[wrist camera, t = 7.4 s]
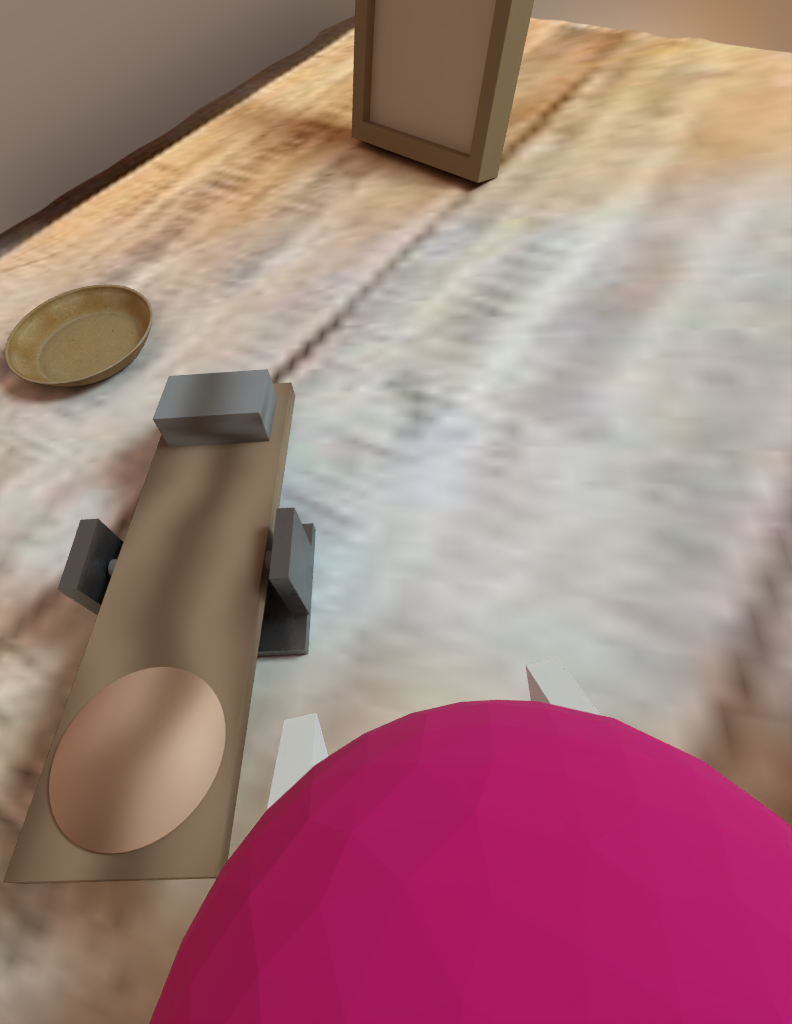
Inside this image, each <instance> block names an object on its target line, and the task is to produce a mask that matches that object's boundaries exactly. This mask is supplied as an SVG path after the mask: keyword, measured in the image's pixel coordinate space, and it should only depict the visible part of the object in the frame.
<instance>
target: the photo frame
mask: <svg viewBox="0 0 792 1024" xmlns="http://www.w3.org/2000/svg"><path fill="white" fill-rule="evenodd" d="M533 2H534V0H356V1H355V37H354V74H353V110H352V137H353V138H356V139H358V140H361V141H364V142H367V143H369V144H372V145H375V146H378V147H380V148H383V149H386V150H389V151H391V152H394V153H397V154H400V155H402V156H405V157H408V158H411V159H413V160H416V161H419V162H422V163H424V164H427V165H430V166H433V167H435V168H438V169H441V170H444V171H446V172H449V173H452V174H455V175H457V176H460V177H463V178H466V179H469V180H471V181H474V182H477V183H479V182H483V181H486V180H489V179H492V178H495V177H497V175H498V170H499V165H500V160H501V156H502V151H503V146H504V141H505V137H506V132H507V127H508V122H509V117H510V113H511V108H512V103H513V98H514V94H515V89H516V84H517V79H518V75H519V70H520V65H521V60H522V55H523V51H524V46H525V41H526V36H527V32H528V27H529V22H530V17H531V12H532V8H533Z"/></svg>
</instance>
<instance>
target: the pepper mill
mask: <svg viewBox="0 0 792 1024" xmlns="http://www.w3.org/2000/svg"><path fill="white" fill-rule="evenodd" d="M150 1024H792V828H791V827H790V826H789V825H788V824H787V823H786V822H785V821H784V820H783V819H781V818H780V817H779V816H777V815H776V814H775V813H773V812H772V811H771V810H769V809H768V808H766V807H765V806H764V805H762V804H761V803H760V802H758V801H757V800H755V799H754V798H753V797H751V796H750V795H749V794H747V793H746V792H745V791H743V790H742V789H740V788H739V787H738V786H736V785H735V784H734V783H732V782H731V781H729V780H728V779H727V778H725V777H724V776H723V775H721V774H720V773H719V772H717V771H716V770H714V769H713V768H712V767H710V766H709V765H708V764H706V763H705V762H703V761H702V760H700V759H698V758H696V757H694V756H692V755H690V754H688V753H685V752H683V751H681V750H679V749H677V748H675V747H673V746H671V745H669V744H667V743H664V742H662V741H660V740H658V739H656V738H654V737H652V736H650V735H648V734H646V733H643V732H641V731H639V730H637V729H635V728H633V727H631V726H629V725H627V724H625V723H622V722H620V721H618V720H616V719H614V718H610V717H606V716H601V715H597V714H593V713H588V712H584V711H579V710H575V709H570V708H566V707H562V706H557V705H553V704H548V703H544V702H539V701H514V700H487V701H471V702H459V703H454V704H450V705H446V706H441V707H437V708H432V709H428V710H424V711H419V712H415V713H411V714H409V715H406V716H404V717H402V718H399V719H397V720H395V721H392V722H390V723H388V724H385V725H383V726H381V727H378V728H376V729H374V730H372V731H369V732H367V733H365V734H363V735H361V736H360V737H358V738H356V739H355V740H353V741H352V742H350V743H349V744H347V745H346V746H344V747H342V748H341V749H339V750H338V751H336V752H335V753H333V754H331V755H330V756H328V757H327V758H325V759H324V760H322V761H321V762H319V763H317V764H316V765H315V766H314V767H312V768H311V769H310V770H309V771H308V772H307V773H306V774H305V775H304V776H303V777H302V778H301V779H300V780H299V781H297V782H296V783H295V784H294V785H293V786H292V787H291V788H290V789H289V790H288V791H287V792H286V793H285V794H284V795H282V796H281V797H280V798H279V799H278V800H277V801H276V802H275V803H274V804H273V805H272V806H271V807H270V808H269V809H267V811H266V812H265V813H264V815H263V816H262V817H261V818H260V820H259V821H258V822H257V824H256V825H255V826H254V828H253V829H252V830H251V831H250V833H249V834H248V835H247V837H246V838H245V839H244V841H243V842H242V843H241V844H240V846H239V847H238V848H237V850H236V851H235V852H234V853H233V855H232V856H231V857H230V859H229V860H228V861H227V863H226V864H225V865H224V866H223V868H222V870H221V872H220V874H219V875H218V877H217V879H216V881H215V883H214V884H213V886H212V888H211V890H210V891H209V893H208V895H207V897H206V899H205V900H204V902H203V904H202V906H201V908H200V909H199V911H198V913H197V915H196V917H195V918H194V920H193V922H192V924H191V926H190V927H189V929H188V931H187V933H186V935H185V936H184V938H183V940H182V942H181V945H180V947H179V950H178V952H177V955H176V957H175V960H174V962H173V965H172V968H171V970H170V973H169V975H168V978H167V980H166V983H165V985H164V988H163V990H162V993H161V996H160V998H159V1001H158V1003H157V1006H156V1008H155V1011H154V1013H153V1016H152V1018H151V1021H150Z"/></svg>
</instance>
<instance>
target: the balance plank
mask: <svg viewBox="0 0 792 1024" xmlns="http://www.w3.org/2000/svg"><path fill="white" fill-rule="evenodd" d="M294 400H295V394H294V390H293V387H292V383H277V384H272V381H271V378H270V375H269V372H268V369H267V370H253V371H238V372H223V373H208V374H194V375H179V376H169V378H168V380H167V383H166V386H165V388H164V391H163V394H162V396H161V399H160V402H159V404H158V407H157V409H156V412H155V415H154V417H153V420H154V422H155V424H156V425H157V427H158V429H159V431H160V432H161V434H162V435H161V438H160V441H159V444H158V447H157V449H156V452H155V455H154V458H153V461H152V464H151V466H150V469H149V472H148V475H147V478H146V481H145V483H144V486H143V489H142V492H141V495H140V497H139V500H138V503H137V506H136V509H135V512H134V514H133V517H132V520H131V523H130V526H129V529H128V531H127V534H126V537H125V540H124V543H123V545H122V548H121V551H120V554H119V557H118V559H112V560H111V561H110V562H109V566H108V571H109V574H110V575H111V579H110V582H109V585H108V588H107V591H106V593H105V596H104V599H103V602H102V605H101V608H100V610H99V613H98V616H97V619H96V622H95V624H94V627H93V630H92V633H91V636H90V639H89V641H88V644H87V647H86V650H85V653H84V655H83V658H82V661H81V664H80V667H79V670H78V672H77V675H76V678H75V681H74V684H73V687H72V689H71V692H70V695H69V698H68V701H67V703H66V706H65V709H64V712H63V715H62V718H61V720H60V723H59V726H58V729H57V732H56V734H55V737H54V740H53V743H52V746H51V749H50V751H49V754H48V757H47V760H46V763H45V766H44V768H43V771H42V774H41V777H40V780H39V782H38V785H37V788H36V791H35V794H34V797H33V799H32V802H31V805H30V808H29V811H28V813H27V816H26V819H25V822H24V825H23V828H22V830H21V833H20V836H19V839H18V842H17V845H16V847H15V850H14V853H13V856H12V859H11V861H10V864H9V867H8V870H7V873H6V876H5V878H4V881H3V882H4V883H20V884H30V883H66V882H101V881H137V880H172V879H207V878H217V877H218V875H219V874H220V872H221V870H222V868H223V866H224V865H225V864H226V863H227V861H228V854H229V847H230V840H231V833H232V826H233V819H234V812H235V806H236V799H237V792H238V785H239V778H240V771H241V764H242V757H243V751H244V744H245V737H246V730H247V723H248V716H249V709H250V703H251V696H252V689H253V682H254V675H255V668H256V661H257V654H258V648H259V641H260V634H261V627H262V620H263V613H264V606H265V599H266V593H267V586H268V579H269V572H270V564H271V555H272V545H273V536H274V527H275V517H276V509H279V503H280V496H281V490H282V483H283V476H284V469H285V462H286V455H287V448H288V441H289V435H290V428H291V421H292V414H293V407H294Z"/></svg>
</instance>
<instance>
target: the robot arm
mask: <svg viewBox="0 0 792 1024" xmlns="http://www.w3.org/2000/svg"><path fill="white" fill-rule="evenodd" d="M526 671H527V677H528V684H529V690H530V697H531V701H539V702H544V703H548V704H553V705H557V706H562V707H566V708H570V709H575V710H579V711H584V712H588V713H593V714H597V715H601V714H600V713H599V712H598V710H597V709H596V708H595V707H594V705H593V704H592V703H591V701H590V700H589V699H588V698H587V696H586V695H585V694H584V692H583V691H582V690H581V689H580V687H579V686H578V685H577V683H576V682H575V681H574V680H573V678H572V677H571V676H570V674H569V673H568V672H567V671H566V669H565V668H564V667H563V665H562V664H561V663H560V661H559V660H558V659H557V658H553V659H548V660H544V661H540V662H535V663H531V664H527V665H526ZM327 757H328V754H327V750H326V746H325V743H324V739H323V735H322V731H321V728H320V724H319V720H318V717H317V713H312V714H308V715H304V716H299V717H295V718H291V719H286V720H284V724H283V729H282V734H281V739H280V745H279V750H278V755H277V760H276V765H275V770H274V775H273V780H272V786H271V791H270V796H269V801H268V806H267V809H269V808H270V807H271V806H272V805H273V804H274V803H275V802H276V801H277V800H278V799H279V798H280V797H281V796H282V795H284V794H285V793H286V792H287V791H288V790H289V789H290V788H291V787H292V786H293V785H294V784H295V783H296V782H297V781H299V780H300V779H301V778H302V777H303V776H304V775H305V774H306V773H307V772H308V771H309V770H310V769H311V768H312V767H314V766H315V765H316V764H317V763H319V762H321V761H322V760H324V759H325V758H327Z"/></svg>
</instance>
